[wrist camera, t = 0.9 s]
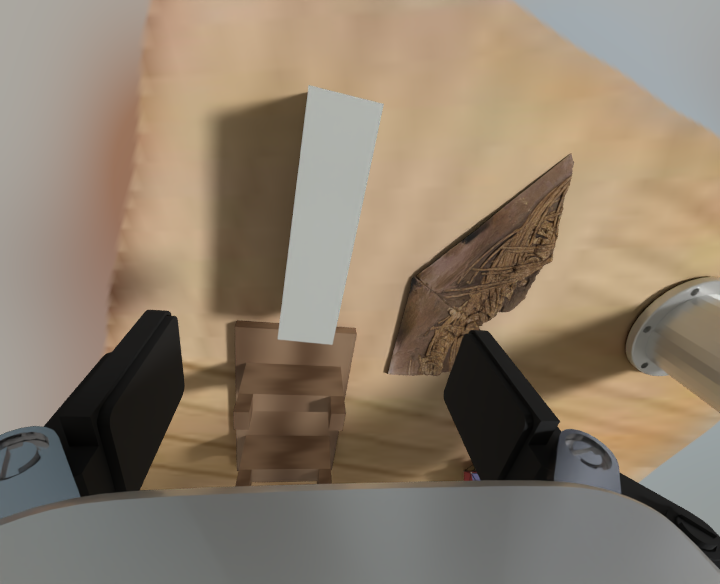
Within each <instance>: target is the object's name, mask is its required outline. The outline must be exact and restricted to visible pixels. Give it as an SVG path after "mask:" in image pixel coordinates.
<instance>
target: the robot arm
mask: <svg viewBox="0 0 720 584" xmlns="http://www.w3.org/2000/svg"><path fill="white" fill-rule="evenodd" d="M626 354H627V358H628V360H629V361H630V363H631V364H632V365H633V366H634V367H636V368H637V369H638V370H639V371H641V372H643V373H645V374H648V375H652V376H666V375H670V376H671V377H672V378H674V379H675V380H676V381H678V382H679V383H680V384H682V385H683V386H684V387H686V388H687V389H688V390H690V391H691V392H692V393H694V394H695V395H697V396H698V397H699V398H701V399H702V400H703V401H705V402H706V403H707V404H709V405H710V406H711V407H713V408H714V409H715V410H717V411H718V412H719V413H720V278H718V277H705V278H699V279H695V280H691V281H688V282H686V283H683V284H681V285H678V286H676V287H675V288H673V289H671V290H669V291H667V292H666V293H664V294H663V295H662V296H660V297H659V298H657V299H656V300H655V301H654V302H653V303H652V304H650V305H649V306H648V307H647V308H646V309H645V310H644V311H643V313H642V314H641V315H640V316H639V317H638V319H637V320H636V322H635V323H634V325H633V326H632V328H631V330H630V333H629V335H628V338H627V342H626ZM183 392H184V374H183V365H182V356H181V346H180V337H179V328H178V320H177V317H176V316H171V313H170V312H169V311H161V310H147V311H146V312H145V313H144V314H143V315H142V316H141V317H140V319H139V320H138V321H137V322H136V324H135V325H134V326H133V327H132V328H131V330H130V331H129V332H128V333H127V334H126V336H125V337H124V338H123V339H122V340H121V342H120V343H119V344H118V345H117V347H116V348H115V349H114V350H113V351H112V352H110V353H107V354H105V355H104V356H103V357H102V358H101V359H100V361H99V362H98V363H97V364H96V365H95V367H94V368H93V369H92V370H91V371H90V373H89V374H88V375H87V376H86V377H85V378H84V380H83V381H82V382H81V383H80V384H79V385H78V387H77V388H76V389H75V390H74V392H73V393H72V394H71V395H70V396H69V397H68V398H67V400H66V401H65V402H64V403H63V404H62V406H61V407H60V408H59V409H58V410H57V412H56V413H55V414H54V415H53V416H52V417H51V419H50V420H49V421H48V422H47V423H46V424H45V426H44V427H40V426H31V427H24V428H19V429H16V430H13V431H9V432H6V433H4V434H1V435H0V584H720V537H719V535H718V534H716V532H714V530H713V529H712V528H711V527H710V526H709V525H708V524H706V523H705V522H704V521H703V520H701V519H700V518H698V517H697V516H695V515H693V514H692V513H690V512H689V511H687V510H685V509H684V508H682V507H680V506H678V505H676V504H675V503H673V502H671V501H669V500H667V499H666V498H664V497H662V496H660V495H658V494H657V493H655V492H653V491H651V490H650V489H648V488H646V487H644V486H643V485H641V484H639V483H637V482H635V481H634V480H632V479H630V478H628V477H627V476H625V475H623V474H621V473H619V465H618V462H617V459H616V458H615V456H614V455H613V453H612V452H611V451H610V450H609V449H608V448H607V447H606V446H605V445H604V444H603V443H602V442H600V441H599V440H598V439H596V438H595V437H593V436H591V435H589V434H587V433H585V432H582V431H580V430H574V429H566V430H564V431H562V432H561V431H560V429H559V428H558V427H557V426H558V424H559V422H560V421H559V420H558V418H557V417H556V416H555V414H554V413H553V412H552V411H551V409H550V408H549V407H548V406H547V404H546V403H545V402H544V401H543V399H542V398H541V397H540V396H539V394H538V393H537V392H536V391H535V389H534V388H533V387H532V386H531V384H530V383H529V382H528V380H527V379H526V378H525V377H524V375H523V374H522V373H521V372H520V370H519V369H518V368H517V367H516V365H515V364H514V363H513V362H512V360H511V359H510V358H509V357H508V355H507V354H506V353H505V351H504V350H503V349H502V348H501V346H500V345H499V344H498V343H497V341H496V340H495V339H494V338H493V336H492V335H491V334H490V333H489V332H488V331H482V330H470V331H469V332H468V334H465V335H464V336H463V338H462V341H461V344H460V347H459V350H458V353H457V355H456V358H455V361H454V364H453V367H452V370H451V372H450V375H449V378H448V381H447V384H446V387H445V389H444V401H445V403H446V405H447V407H448V410H449V412H450V414H451V416H452V419H453V421H454V423H455V425H456V427H457V430H458V432H459V434H460V436H461V438H462V441H463V443H464V445H465V447H466V449H467V452H468V454H469V456H470V458H471V460H472V463H473V465H474V467H475V469H476V471H477V474H478V476H479V478H480V480H481V481H429V482H383V483H342V484H302V485H269V486H236V487H204V488H183V489H161V490H140V488H141V486H142V484H143V482H144V479H145V477H146V475H147V473H148V471H149V468H150V466H151V464H152V462H153V460H154V457H155V455H156V453H157V451H158V449H159V446H160V444H161V442H162V440H163V438H164V435H165V433H166V431H167V429H168V426H169V424H170V422H171V420H172V418H173V415H174V413H175V411H176V409H177V407H178V404H179V402H180V400H181V398H182V395H183Z"/></svg>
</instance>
